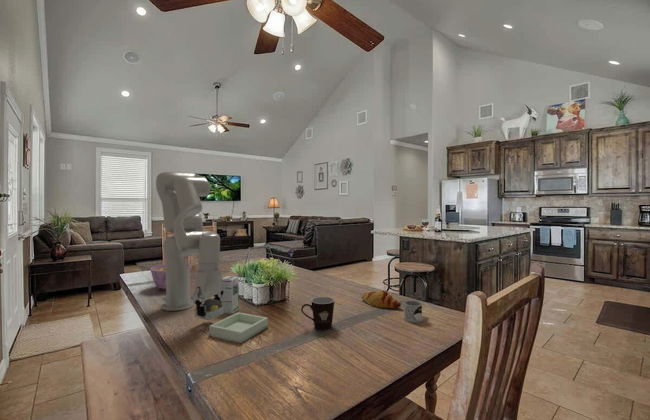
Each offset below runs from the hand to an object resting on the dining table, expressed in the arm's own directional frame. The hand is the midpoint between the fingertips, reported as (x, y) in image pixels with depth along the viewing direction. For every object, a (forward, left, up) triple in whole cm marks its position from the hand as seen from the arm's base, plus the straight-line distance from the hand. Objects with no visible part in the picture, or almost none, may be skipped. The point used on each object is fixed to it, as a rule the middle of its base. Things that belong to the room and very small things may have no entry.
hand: (209, 311), depth 121 cm
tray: (+15, 0, -5) cm, 16 cm away
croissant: (+53, +50, -5) cm, 73 cm away
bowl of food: (-57, +30, -5) cm, 64 cm away
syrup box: (-3, +15, -5) cm, 16 cm away
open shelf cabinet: (0, 0, -1) cm, 1 cm away
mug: (+70, +39, -5) cm, 80 cm away
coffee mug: (+39, +16, -5) cm, 42 cm away
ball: (0, +1, 0) cm, 2 cm away
